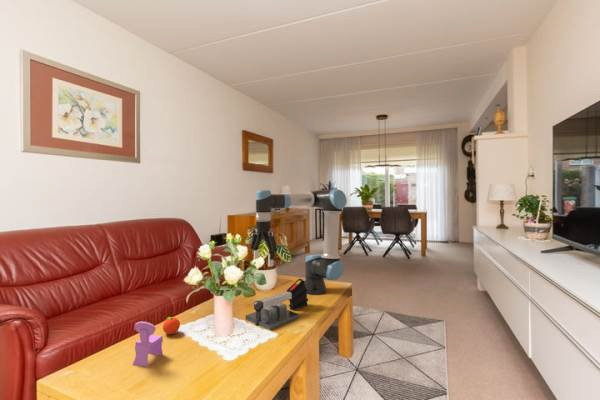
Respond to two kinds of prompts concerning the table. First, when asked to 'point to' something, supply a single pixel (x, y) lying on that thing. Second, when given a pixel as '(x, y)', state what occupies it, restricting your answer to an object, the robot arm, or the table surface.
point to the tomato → (171, 325)
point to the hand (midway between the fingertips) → (263, 264)
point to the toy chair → (146, 343)
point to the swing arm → (272, 300)
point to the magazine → (298, 295)
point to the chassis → (272, 316)
